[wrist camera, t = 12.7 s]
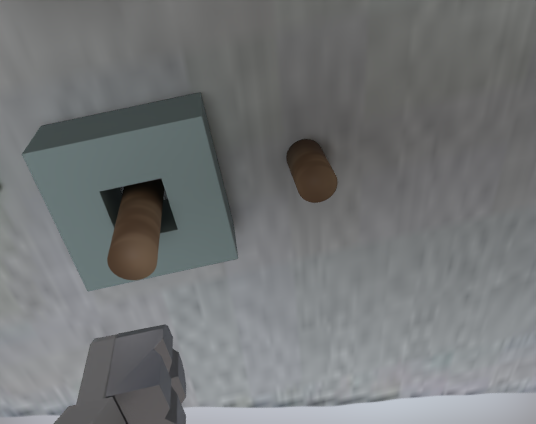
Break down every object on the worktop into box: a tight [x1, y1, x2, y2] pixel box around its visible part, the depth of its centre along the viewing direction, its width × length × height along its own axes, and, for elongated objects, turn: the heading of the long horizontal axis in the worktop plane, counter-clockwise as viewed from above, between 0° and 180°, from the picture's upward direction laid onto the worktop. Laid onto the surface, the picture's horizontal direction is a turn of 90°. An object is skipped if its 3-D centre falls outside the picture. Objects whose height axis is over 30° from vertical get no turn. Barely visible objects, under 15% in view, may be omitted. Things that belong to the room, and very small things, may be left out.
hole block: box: [22, 93, 238, 291], centre depth 38 cm, size 12×12×5 cm
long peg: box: [107, 178, 164, 280], centre depth 36 cm, size 3×3×11 cm
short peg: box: [286, 139, 337, 203], centre depth 39 cm, size 3×3×5 cm
